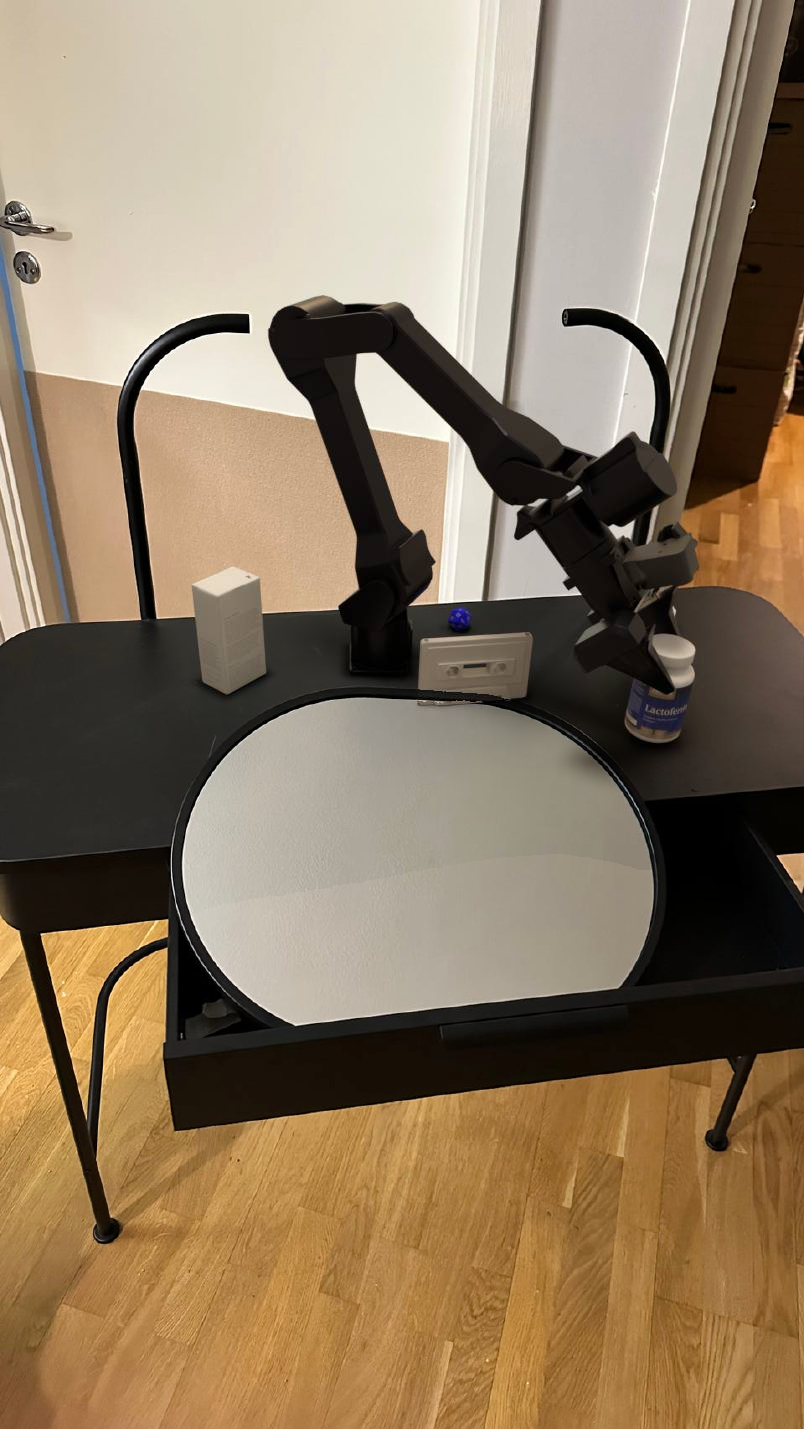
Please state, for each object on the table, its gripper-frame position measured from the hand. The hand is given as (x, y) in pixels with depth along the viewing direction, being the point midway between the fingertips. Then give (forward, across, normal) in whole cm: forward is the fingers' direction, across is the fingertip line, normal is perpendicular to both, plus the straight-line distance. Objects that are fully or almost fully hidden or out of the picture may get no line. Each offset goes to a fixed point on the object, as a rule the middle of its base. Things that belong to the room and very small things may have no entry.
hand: (678, 678), depth 97 cm
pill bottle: (+4, 0, +6) cm, 7 cm away
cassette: (-9, -2, +20) cm, 22 cm away
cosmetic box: (-26, -11, +38) cm, 47 cm away
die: (-14, +12, +25) cm, 31 cm away
